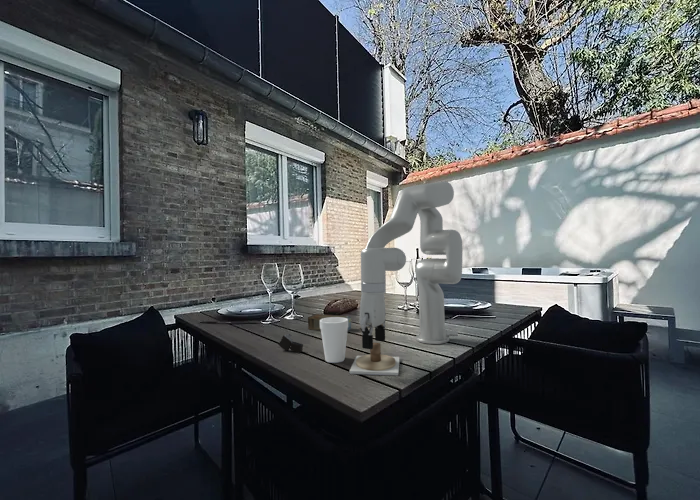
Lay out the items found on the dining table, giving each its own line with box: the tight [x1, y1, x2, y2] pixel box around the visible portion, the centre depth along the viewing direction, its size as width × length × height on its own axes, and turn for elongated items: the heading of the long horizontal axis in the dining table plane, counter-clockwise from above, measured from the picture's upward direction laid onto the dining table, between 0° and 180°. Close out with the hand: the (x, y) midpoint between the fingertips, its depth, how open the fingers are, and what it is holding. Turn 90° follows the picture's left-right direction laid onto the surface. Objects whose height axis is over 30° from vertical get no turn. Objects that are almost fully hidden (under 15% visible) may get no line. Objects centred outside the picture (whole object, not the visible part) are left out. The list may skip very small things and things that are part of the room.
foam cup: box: [320, 317, 349, 364], centre depth 110 cm, size 10×9×13 cm
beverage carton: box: [307, 313, 352, 332], centre depth 152 cm, size 8×19×6 cm, turn 67°
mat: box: [349, 355, 401, 376], centre depth 102 cm, size 14×14×1 cm
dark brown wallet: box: [277, 333, 304, 354], centre depth 120 cm, size 9×2×6 cm
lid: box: [356, 342, 396, 371], centre depth 102 cm, size 12×12×6 cm
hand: (374, 344), depth 102 cm, fingers open, 9 cm apart
